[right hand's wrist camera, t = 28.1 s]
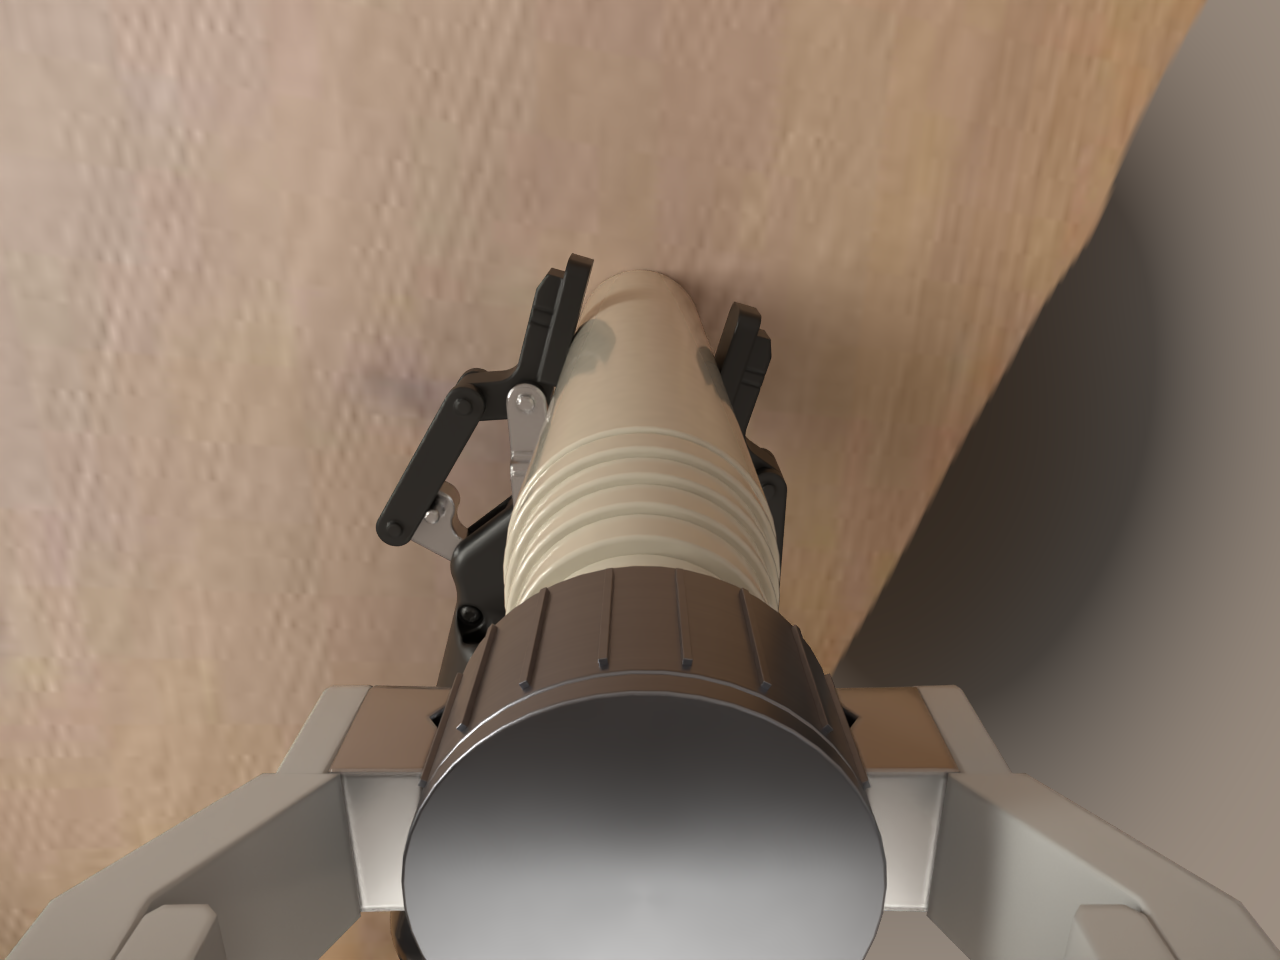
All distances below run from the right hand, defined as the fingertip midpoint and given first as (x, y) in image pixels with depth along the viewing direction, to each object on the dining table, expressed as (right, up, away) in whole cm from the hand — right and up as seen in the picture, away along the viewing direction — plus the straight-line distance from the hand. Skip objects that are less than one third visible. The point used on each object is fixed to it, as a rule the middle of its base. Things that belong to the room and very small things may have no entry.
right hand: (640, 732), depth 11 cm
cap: (0, -1, -2) cm, 2 cm away
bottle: (0, +9, +23) cm, 24 cm away
